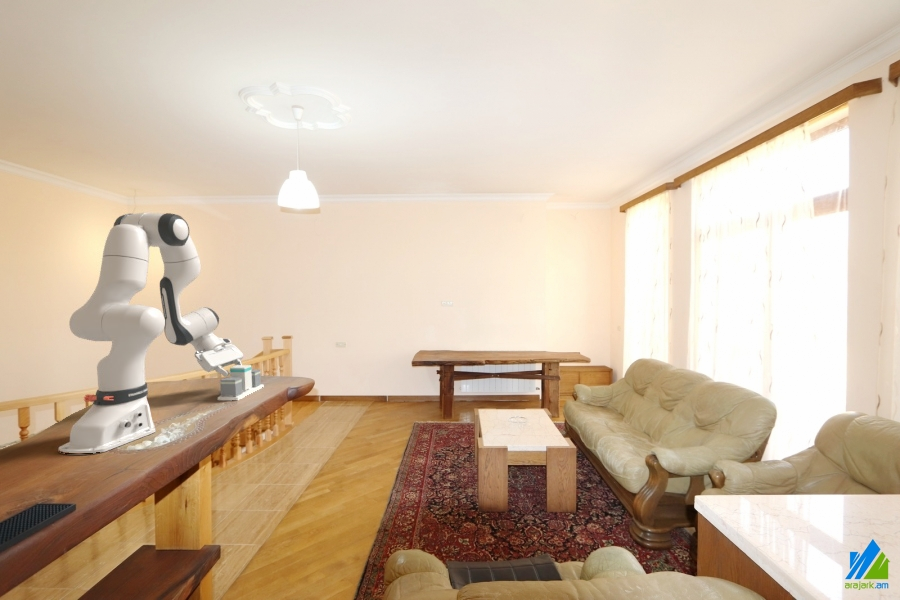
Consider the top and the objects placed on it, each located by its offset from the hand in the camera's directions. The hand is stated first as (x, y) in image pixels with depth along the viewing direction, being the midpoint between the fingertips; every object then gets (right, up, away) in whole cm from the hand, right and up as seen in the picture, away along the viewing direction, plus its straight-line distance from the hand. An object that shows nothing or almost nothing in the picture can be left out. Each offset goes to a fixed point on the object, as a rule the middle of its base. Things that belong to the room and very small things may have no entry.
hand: (235, 372), depth 160 cm
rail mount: (+3, -9, 0) cm, 9 cm away
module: (+2, -7, 0) cm, 7 cm away
